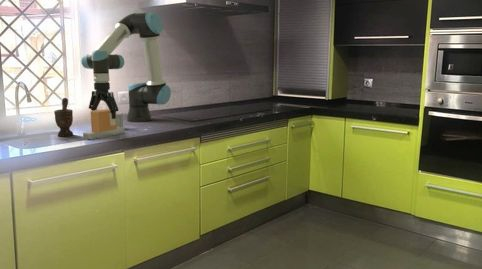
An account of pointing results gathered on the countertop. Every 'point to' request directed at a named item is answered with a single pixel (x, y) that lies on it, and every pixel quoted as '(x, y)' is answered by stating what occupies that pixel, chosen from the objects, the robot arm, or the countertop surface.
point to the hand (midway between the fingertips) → (104, 124)
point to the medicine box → (119, 119)
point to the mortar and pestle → (64, 119)
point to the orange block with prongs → (101, 121)
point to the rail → (103, 133)
